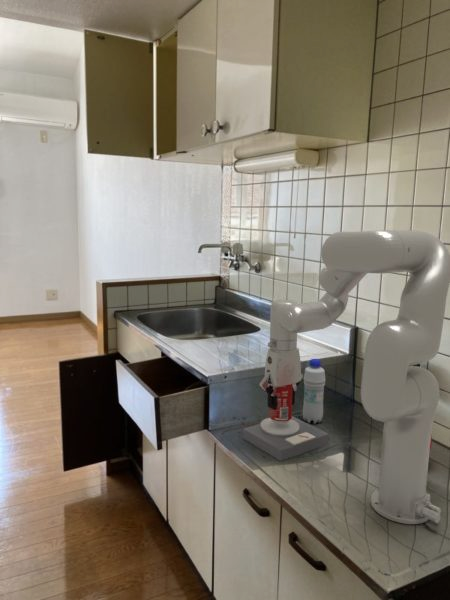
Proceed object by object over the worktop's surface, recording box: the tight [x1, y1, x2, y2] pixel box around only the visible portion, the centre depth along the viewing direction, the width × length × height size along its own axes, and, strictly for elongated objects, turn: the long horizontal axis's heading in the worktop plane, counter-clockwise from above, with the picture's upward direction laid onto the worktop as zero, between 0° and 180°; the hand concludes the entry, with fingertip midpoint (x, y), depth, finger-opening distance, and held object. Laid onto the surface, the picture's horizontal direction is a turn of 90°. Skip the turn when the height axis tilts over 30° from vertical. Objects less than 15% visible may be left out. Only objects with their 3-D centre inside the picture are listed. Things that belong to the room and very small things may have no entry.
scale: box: [242, 415, 330, 462], centre depth 135 cm, size 16×18×4 cm
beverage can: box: [268, 384, 293, 424], centre depth 136 cm, size 6×6×12 cm
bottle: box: [302, 358, 326, 424], centre depth 148 cm, size 7×7×20 cm
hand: (281, 405), depth 136 cm, fingers closed on beverage can, 6 cm apart
